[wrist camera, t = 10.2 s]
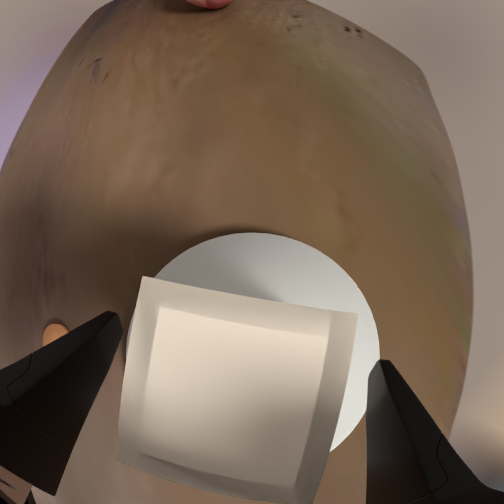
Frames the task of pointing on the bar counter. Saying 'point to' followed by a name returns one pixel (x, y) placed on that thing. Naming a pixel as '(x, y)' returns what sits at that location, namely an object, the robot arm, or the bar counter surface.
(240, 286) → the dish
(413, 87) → the bar counter surface
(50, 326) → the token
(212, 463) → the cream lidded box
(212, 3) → the decorative fruit
